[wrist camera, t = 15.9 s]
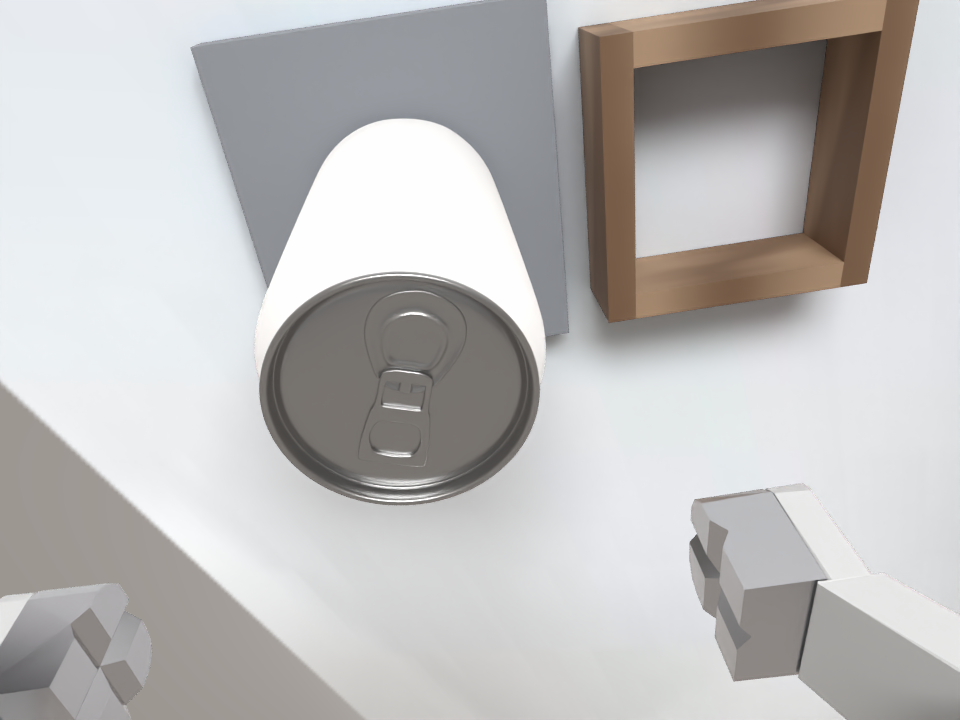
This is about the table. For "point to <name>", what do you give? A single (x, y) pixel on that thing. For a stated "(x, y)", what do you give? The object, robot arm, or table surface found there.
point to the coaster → (395, 114)
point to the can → (400, 322)
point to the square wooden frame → (835, 164)
